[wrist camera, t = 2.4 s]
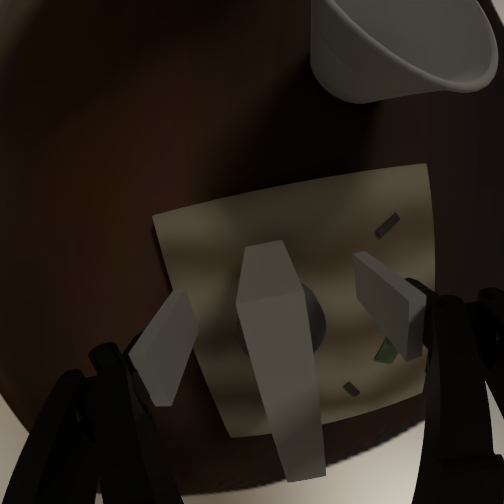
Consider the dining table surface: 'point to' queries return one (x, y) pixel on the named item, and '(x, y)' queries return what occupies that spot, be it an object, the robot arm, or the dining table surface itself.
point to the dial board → (306, 282)
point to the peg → (283, 354)
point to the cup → (400, 47)
